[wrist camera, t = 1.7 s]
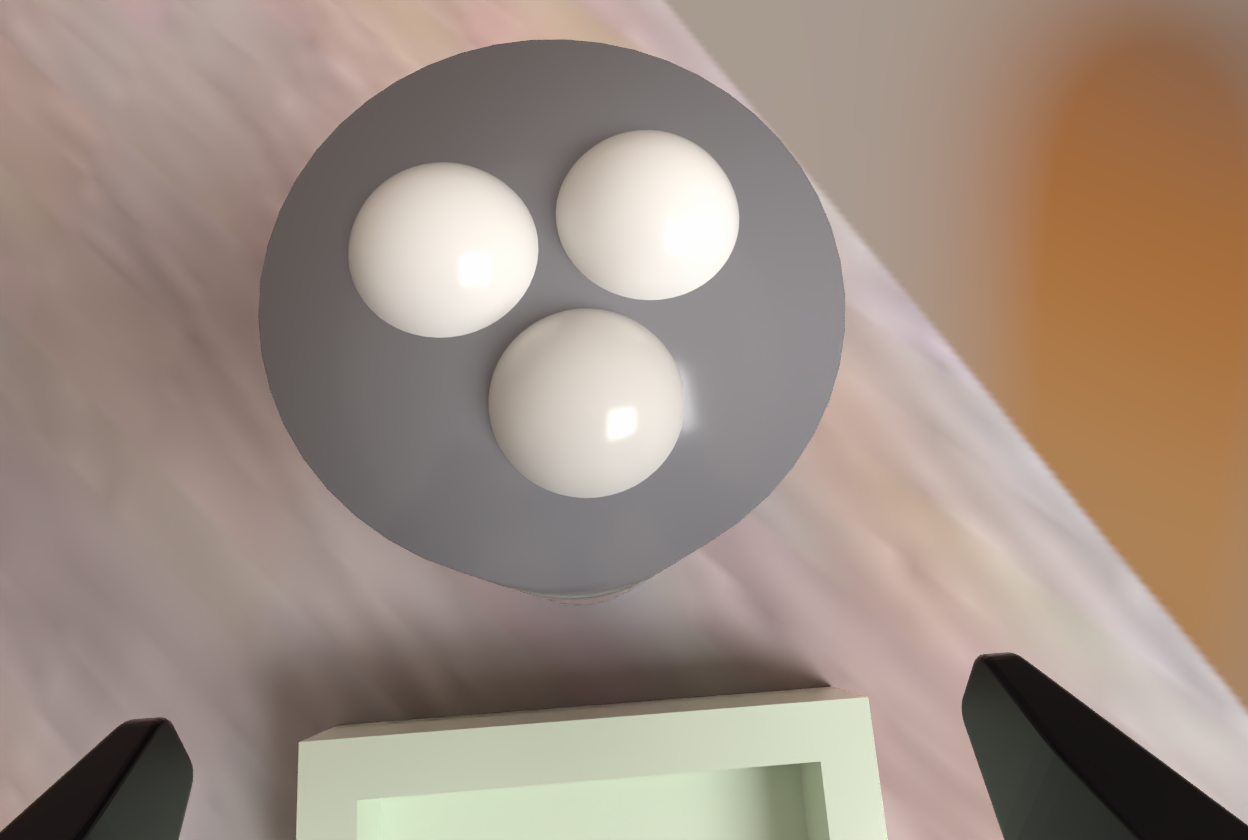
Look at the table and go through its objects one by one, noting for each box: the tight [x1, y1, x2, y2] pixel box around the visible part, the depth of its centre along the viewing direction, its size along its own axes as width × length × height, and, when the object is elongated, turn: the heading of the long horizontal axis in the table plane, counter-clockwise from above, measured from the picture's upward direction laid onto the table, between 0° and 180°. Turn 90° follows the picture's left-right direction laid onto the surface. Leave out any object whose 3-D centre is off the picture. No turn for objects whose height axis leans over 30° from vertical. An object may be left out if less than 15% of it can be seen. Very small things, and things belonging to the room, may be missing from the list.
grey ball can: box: [259, 40, 845, 605], centre depth 13 cm, size 5×5×14 cm
